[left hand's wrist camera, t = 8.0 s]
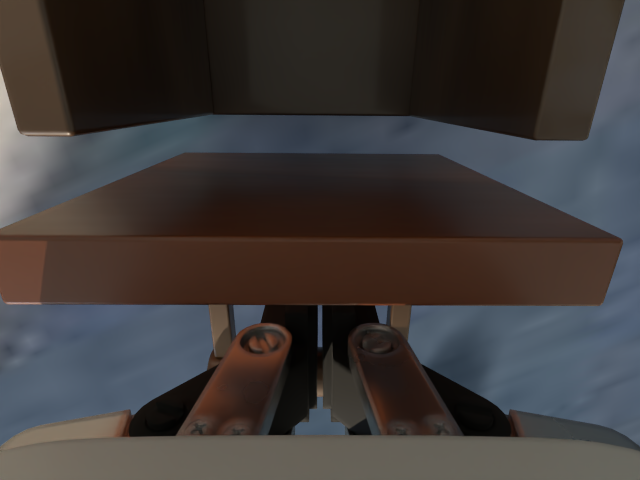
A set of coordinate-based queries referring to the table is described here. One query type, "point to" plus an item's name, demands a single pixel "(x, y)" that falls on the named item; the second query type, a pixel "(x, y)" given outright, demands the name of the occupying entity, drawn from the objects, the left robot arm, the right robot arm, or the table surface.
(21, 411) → the table surface
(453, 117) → the drawer
